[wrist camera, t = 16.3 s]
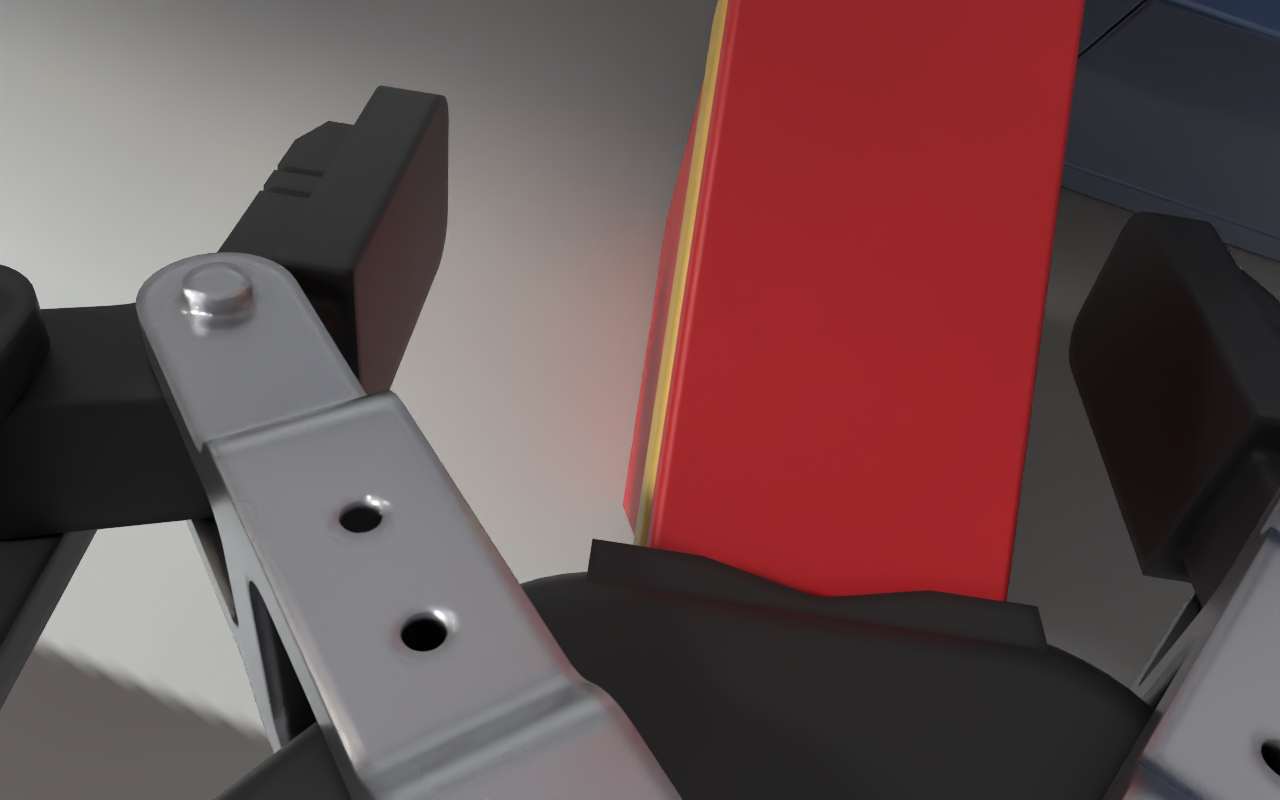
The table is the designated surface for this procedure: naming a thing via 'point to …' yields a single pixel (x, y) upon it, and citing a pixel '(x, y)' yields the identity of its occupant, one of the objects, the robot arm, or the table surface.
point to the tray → (1181, 113)
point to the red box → (857, 293)
